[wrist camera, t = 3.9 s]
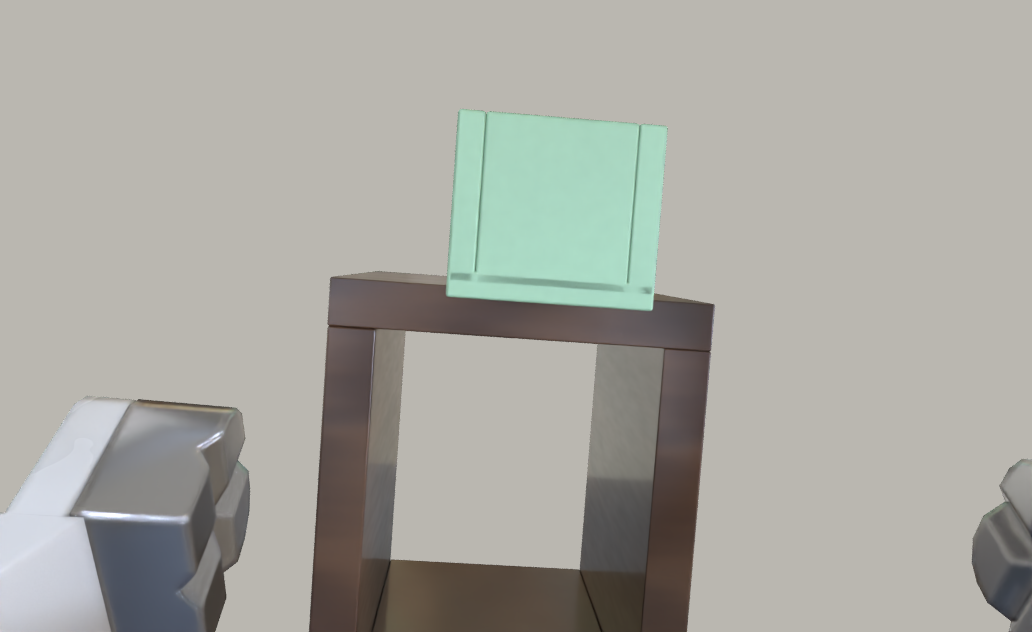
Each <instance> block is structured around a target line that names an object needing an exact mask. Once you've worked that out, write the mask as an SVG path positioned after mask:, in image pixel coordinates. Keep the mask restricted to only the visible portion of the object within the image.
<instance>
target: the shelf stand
mask: <svg viewBox="0 0 1032 632" xmlns="http://www.w3.org/2000/svg"><path fill="white" fill-rule="evenodd" d="M446 283H447V276H437V275H424V274H410V273H395V272H382V271H375V272H367V273H359V274H351V275H343V276H335V277H331V278H330V292H329V310H328V325H329V327H328V330H327V346H326V363H325V379H324V396H323V411H322V427H321V444H320V460H319V478H318V494H317V510H316V526H315V543H314V559H313V575H312V593H311V609H310V625H309V632H687V624H688V612H689V600H690V588H691V577H692V566H693V554H694V542H695V530H696V519H697V508H698V495H699V485H700V473H701V461H702V450H703V438H704V427H705V415H706V403H707V392H708V380H709V369H710V357H711V353H710V352H709V351H711V345H712V334H713V322H714V310H715V305H714V304H710V303H704V302H699V301H693V300H688V299H682V298H676V297H670V296H665V295H660V294H654V300H653V309H652V310H651V311H640V310H626V309H612V308H597V307H583V306H569V305H555V304H541V303H527V302H513V301H498V300H484V299H470V298H456V297H448V296H446ZM405 331H416V332H431V333H448V334H460V335H475V336H490V337H504V338H519V339H534V340H548V341H563V342H564V341H565V342H578V343H592V344H598V345H597V358H596V370H595V371H596V372H595V384H594V396H593V408H592V421H591V435H590V447H589V459H588V472H587V485H586V497H585V510H584V523H583V535H582V548H581V561H580V570H575V569H557V568H539V567H538V568H537V567H520V566H502V565H483V564H482V565H481V564H464V563H446V562H427V561H408V560H391V561H390V557H391V541H392V526H393V511H394V496H395V482H396V467H397V451H398V436H399V420H400V406H401V391H402V376H403V360H404V345H405Z"/></svg>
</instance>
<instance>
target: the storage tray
mask: <svg viewBox="0 0 1032 632" xmlns="http://www.w3.org/2000/svg"><path fill="white" fill-rule="evenodd" d="M667 130H668V128H667V127H666V126H662V125H650V124H641V125H640V126H639V125H638V124H636V123H624V122H611V121H599V120H588V119H575V118H564V117H563V118H562V117H552V116H551V117H550V116H540V115H539V116H538V115H528V114H516V113H515V114H514V113H503V112H491V111H490V112H487V114H486V112H484V111H479V110H467V109H461V110H459V112H458V123H457V137H456V153H455V168H454V181H453V195H452V210H451V225H450V241H449V254H448V270H447V283H446V296H448V297H456V298H470V299H484V300H498V301H513V302H527V303H541V304H555V305H569V306H583V307H597V308H612V309H626V310H640V311H651V310H652V309H653V300H654V288H655V276H656V264H657V251H658V239H659V227H660V214H661V203H662V190H663V179H664V166H665V154H666V142H667Z"/></svg>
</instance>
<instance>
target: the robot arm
mask: <svg viewBox="0 0 1032 632" xmlns="http://www.w3.org/2000/svg"><path fill="white" fill-rule="evenodd" d="M244 441H245V433H244V425H243V418H242V413H241V412H240V411H239V410H238V409H237V408H232V407H221V406H209V405H198V404H187V403H175V402H164V401H151V400H141V399H138V400H137V401H136V400H130V399H119V398H108V397H95V396H86V397H85V398H83V399H81V400H80V401H78V402H77V403H75V404H74V406H73V407H72V408H71V410H70V412H69V413H68V415H67V416H66V418H65V419H64V421H63V423H62V424H61V426H60V427H59V429H58V430H57V432H56V434H55V435H54V437H53V438H52V440H51V441H50V443H49V444H48V446H47V448H46V449H45V451H44V452H43V454H42V455H41V457H40V459H39V460H38V462H37V463H36V465H35V466H34V468H33V469H32V471H31V472H30V474H29V476H28V477H27V479H26V480H25V482H24V483H23V485H22V487H21V488H20V490H19V491H18V493H17V494H16V496H15V497H14V499H13V501H12V502H11V504H10V505H9V507H8V508H7V510H6V512H5V513H0V632H215V631H216V628H217V624H218V621H219V618H220V615H221V612H222V609H223V606H224V603H225V600H226V590H225V581H224V572H225V571H226V570H228V569H229V568H230V567H231V566H233V565H234V564H235V563H236V562H238V559H239V556H240V552H241V549H242V546H243V542H244V539H245V534H246V528H247V522H248V516H249V506H250V483H249V472H248V470H247V469H246V468H245V467H244V466H243V465H242V464H241V463H240V462H239V461H238V457H239V455H240V452H241V449H242V447H243V444H244ZM1000 489H1001V491H1002V494H1003V497H1004V499H1005V502H1004V503H1003V504H1001V505H999V506H998V507H996V508H995V509H993V510H992V511H990V512H989V513H987V514H986V515H984V516H983V518H982V520H981V522H980V524H979V527H978V529H977V531H976V533H975V535H974V537H973V549H972V565H973V569H974V573H975V577H976V581H977V584H978V586H979V587H980V589H981V591H982V593H983V595H984V597H985V599H986V601H987V603H989V604H990V605H991V606H993V607H994V608H995V609H996V610H998V611H999V612H1000V613H1002V614H1003V615H1004V616H1005V617H1007V618H1008V619H1009V620H1010V621H1011V624H1010V628H1009V632H1032V459H1021V460H1020V461H1019V462H1017V463H1016V464H1015V465H1013V466H1012V467H1011V468H1009V470H1008V472H1007V473H1006V475H1005V477H1004V479H1003V481H1002V482H1001V484H1000Z"/></svg>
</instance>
